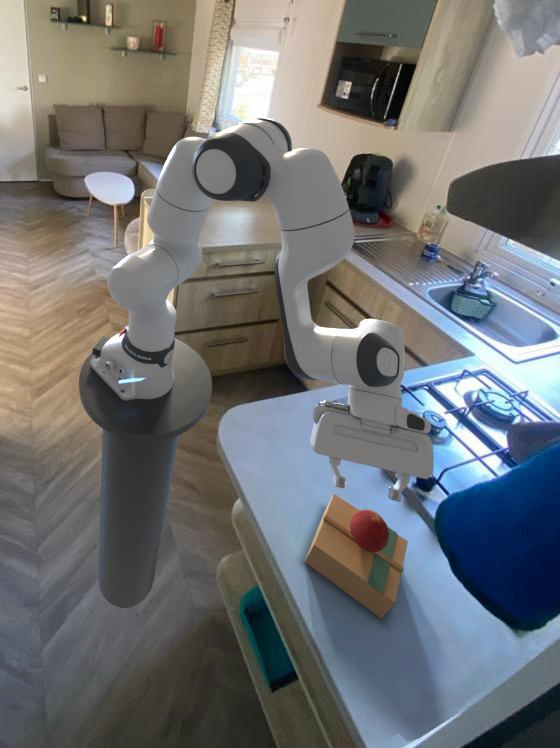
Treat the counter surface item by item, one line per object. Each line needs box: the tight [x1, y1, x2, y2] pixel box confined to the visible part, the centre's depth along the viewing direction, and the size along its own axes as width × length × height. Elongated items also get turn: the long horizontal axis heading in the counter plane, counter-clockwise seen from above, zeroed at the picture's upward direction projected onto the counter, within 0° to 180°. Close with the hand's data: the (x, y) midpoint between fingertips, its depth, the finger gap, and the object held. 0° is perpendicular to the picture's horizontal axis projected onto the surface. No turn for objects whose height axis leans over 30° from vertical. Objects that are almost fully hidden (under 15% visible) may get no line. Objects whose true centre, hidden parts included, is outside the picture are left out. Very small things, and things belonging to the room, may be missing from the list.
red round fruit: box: [350, 509, 389, 552], centre depth 69 cm, size 6×6×8 cm
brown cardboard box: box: [304, 493, 408, 619], centre depth 73 cm, size 13×11×6 cm
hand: (366, 493), depth 73 cm, fingers open, 8 cm apart
